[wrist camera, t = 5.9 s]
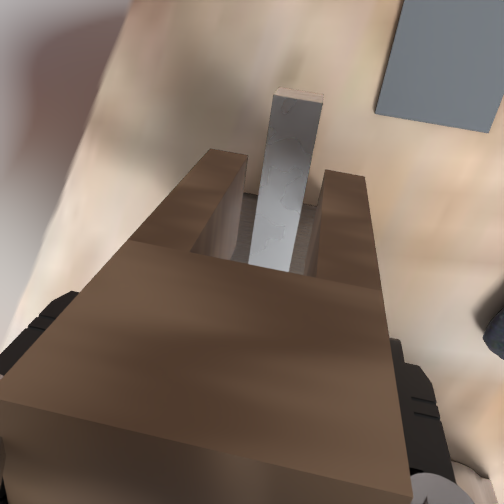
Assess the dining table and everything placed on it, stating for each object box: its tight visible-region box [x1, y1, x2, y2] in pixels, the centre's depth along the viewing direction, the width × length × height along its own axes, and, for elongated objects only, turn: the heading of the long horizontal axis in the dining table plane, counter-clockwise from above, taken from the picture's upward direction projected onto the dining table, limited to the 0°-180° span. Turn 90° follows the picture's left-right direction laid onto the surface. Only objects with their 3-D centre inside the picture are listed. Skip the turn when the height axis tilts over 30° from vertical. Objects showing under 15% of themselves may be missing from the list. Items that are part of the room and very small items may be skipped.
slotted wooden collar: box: [0, 149, 414, 504], centre depth 13 cm, size 6×4×13 cm, turn 82°
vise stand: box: [230, 87, 324, 275], centre depth 30 cm, size 16×19×17 cm
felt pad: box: [375, 0, 504, 133], centre depth 31 cm, size 8×8×1 cm
